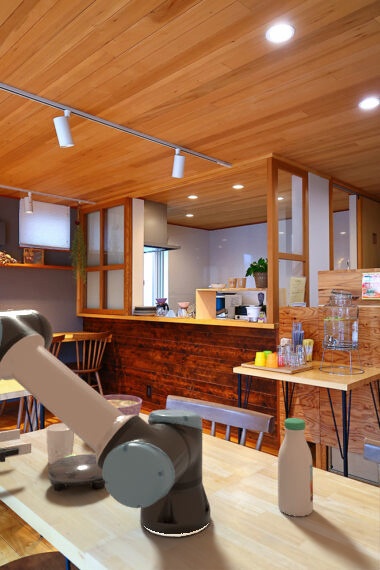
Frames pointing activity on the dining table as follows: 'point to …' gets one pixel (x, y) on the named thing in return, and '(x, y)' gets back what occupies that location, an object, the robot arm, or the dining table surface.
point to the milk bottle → (295, 471)
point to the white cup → (59, 442)
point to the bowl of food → (125, 403)
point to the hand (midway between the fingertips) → (25, 440)
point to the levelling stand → (76, 472)
